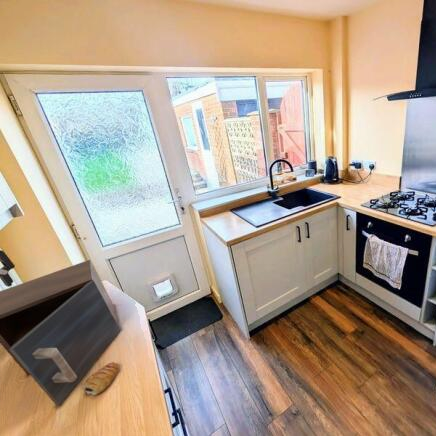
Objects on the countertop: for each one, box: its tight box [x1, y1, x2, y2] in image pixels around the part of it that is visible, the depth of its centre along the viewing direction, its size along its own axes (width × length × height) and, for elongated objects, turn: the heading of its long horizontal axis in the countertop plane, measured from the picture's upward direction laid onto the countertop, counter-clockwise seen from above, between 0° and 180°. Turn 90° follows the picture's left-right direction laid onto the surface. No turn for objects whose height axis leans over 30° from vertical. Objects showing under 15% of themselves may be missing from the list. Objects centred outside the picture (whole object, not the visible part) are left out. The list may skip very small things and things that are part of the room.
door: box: [9, 281, 121, 407], centre depth 78 cm, size 7×26×24 cm, turn 178°
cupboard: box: [0, 259, 119, 376], centre depth 90 cm, size 18×26×24 cm
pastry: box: [82, 361, 120, 396], centre depth 76 cm, size 9×7×4 cm
